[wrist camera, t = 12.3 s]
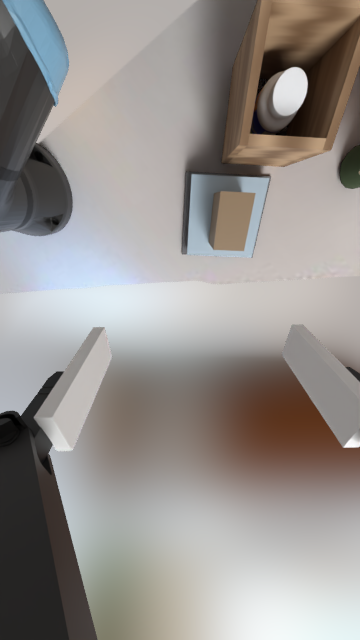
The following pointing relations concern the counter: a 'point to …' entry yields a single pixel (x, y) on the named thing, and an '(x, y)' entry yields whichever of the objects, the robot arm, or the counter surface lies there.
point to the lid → (225, 214)
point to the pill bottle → (279, 101)
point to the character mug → (351, 169)
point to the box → (281, 54)
